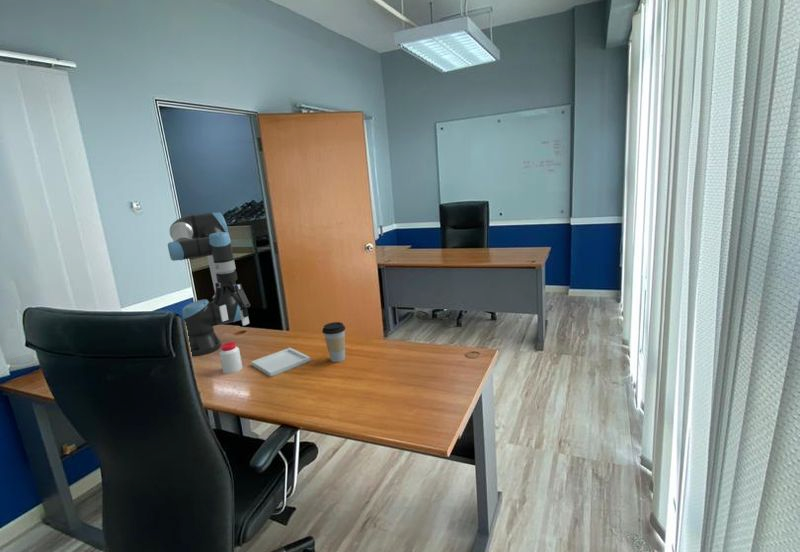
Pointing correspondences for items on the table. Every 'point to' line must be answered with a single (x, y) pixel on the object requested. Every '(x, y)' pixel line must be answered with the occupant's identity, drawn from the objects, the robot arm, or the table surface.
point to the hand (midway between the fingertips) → (235, 322)
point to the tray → (280, 361)
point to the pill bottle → (230, 358)
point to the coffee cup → (335, 340)
